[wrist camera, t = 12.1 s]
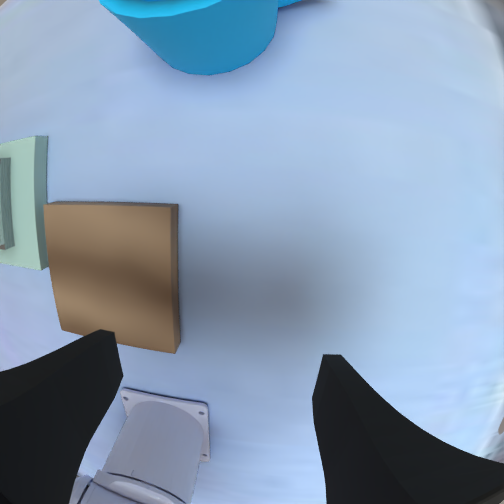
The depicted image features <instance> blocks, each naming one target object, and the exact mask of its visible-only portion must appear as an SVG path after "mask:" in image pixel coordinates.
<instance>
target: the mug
mask: <svg viewBox="0 0 504 504" xmlns="http://www.w3.org/2000/svg"><path fill="white" fill-rule="evenodd" d="M99 1H100V4H102V5H103V6H104V7H105V8H106V9H107V10H109V11H110V12H111V13H112V14H113V15H114V16H116V17H117V18H118V19H119V20H120V21H121V22H122V23H124V24H125V25H126V26H127V27H128V28H129V29H130V30H131V31H133V32H134V33H135V34H136V35H137V36H138V37H139V38H140V39H141V40H142V41H143V42H145V43H146V44H147V45H148V46H149V47H150V48H151V49H152V50H153V51H154V52H155V53H156V54H157V55H158V56H159V57H160V58H162V59H163V60H164V61H165V62H166V63H168V64H169V65H170V66H171V67H172V68H175V69H178V70H180V71H183V72H186V73H188V74H199V75H214V74H219V73H225V72H230V71H232V70H235V69H237V68H239V67H241V66H244V65H246V64H248V63H250V62H251V61H252V60H254V59H255V58H256V57H257V56H258V55H260V54H261V53H262V52H263V51H265V49H266V47H267V46H268V44H269V43H270V41H271V40H272V38H273V37H274V33H275V28H276V23H277V13H278V8H279V7H283V6H287V5H290V4H293V3H296V2H299V1H302V0H99Z"/></svg>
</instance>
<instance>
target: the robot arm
mask: <svg viewBox="0 0 504 504" xmlns="http://www.w3.org/2000/svg"><path fill="white" fill-rule="evenodd" d="M122 378H123V372H122V368H121V363H120V358H119V353H118V348H117V343H116V338H115V332H112V331H107V330H102V329H99V330H97V331H94V332H92V333H90V334H88V335H86V336H84V337H82V338H80V339H78V340H76V341H74V342H72V343H70V344H68V345H66V346H64V347H62V348H60V349H58V350H56V351H54V352H51V353H49V354H47V355H45V356H42V357H40V358H38V359H36V360H33V361H31V362H29V363H26V364H23V365H21V366H18V367H15V368H12V369H9V370H5V371H1V372H0V504H190V503H191V501H192V496H193V491H194V487H195V482H196V477H197V472H198V468H199V463H200V461H202V462H209V461H210V444H209V423H208V406H207V405H206V404H204V403H199V402H192V401H186V400H179V399H174V398H168V397H163V396H158V395H153V394H148V393H143V392H139V391H134V390H130V389H126V388H123V389H122V390H121V391H120V394H121V398H122V401H123V405H124V408H125V411H126V415H127V419H126V421H125V423H124V425H123V427H122V429H121V431H120V434H119V436H118V438H117V440H116V442H115V444H114V446H113V448H112V450H111V452H110V454H109V456H108V458H107V461H106V463H105V465H104V467H103V469H102V471H101V470H98V471H97V473H96V475H95V477H94V479H93V478H92V477H90V476H88V475H84V476H82V477H78V478H76V476H77V473H78V470H79V467H80V464H81V461H82V459H83V456H84V453H85V451H86V448H87V446H88V444H89V442H90V440H91V438H92V437H93V435H94V433H95V431H96V429H97V428H98V426H99V424H100V422H101V421H102V419H103V417H104V416H105V414H106V412H107V410H108V409H109V407H110V405H111V403H112V401H113V400H114V398H115V396H116V393H117V391H118V388H119V386H120V383H121V380H122ZM312 404H313V418H314V426H315V431H316V436H317V441H318V446H319V451H320V456H321V461H322V466H323V471H324V477H325V484H326V501H327V504H499V503H501V502H502V501H503V500H504V464H503V463H500V462H496V461H492V460H489V459H485V458H482V457H478V456H475V455H472V454H470V453H467V452H465V451H463V450H460V449H458V448H456V447H453V446H451V445H449V444H447V443H445V442H443V441H442V440H440V439H438V438H436V437H434V436H433V435H431V434H429V433H428V432H426V431H424V430H423V429H421V428H420V427H418V426H417V425H415V424H414V423H413V422H411V421H410V420H408V419H407V418H406V417H404V416H403V415H402V414H401V413H399V412H398V411H397V410H396V409H395V408H393V407H392V406H391V405H390V404H389V403H388V402H387V401H385V400H384V399H383V398H382V397H381V396H380V395H379V394H378V393H377V392H376V391H375V390H374V389H373V388H372V387H371V386H370V385H369V384H368V383H367V382H366V381H365V380H364V379H363V378H362V377H361V376H360V375H359V374H358V373H357V372H356V370H355V369H354V368H353V367H352V366H351V365H350V364H349V363H348V362H347V361H346V360H345V359H344V357H343V356H342V355H330V354H323V357H322V361H321V366H320V370H319V374H318V377H317V381H316V385H315V389H314V393H313V396H312ZM201 411H202V412H201Z"/></svg>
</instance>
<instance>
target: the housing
mask: <svg viewBox="0 0 504 504" xmlns="http://www.w3.org/2000/svg"><path fill="white" fill-rule="evenodd" d="M14 246H15V242H14V233H13V222H12V208H11V157H10V158H0V249H2V250H7V249H9V248H11V247H14Z"/></svg>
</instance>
